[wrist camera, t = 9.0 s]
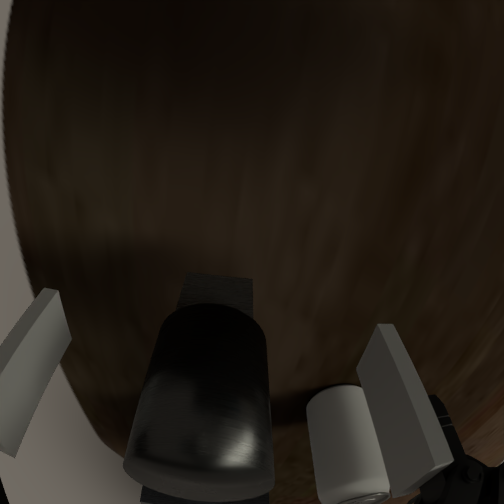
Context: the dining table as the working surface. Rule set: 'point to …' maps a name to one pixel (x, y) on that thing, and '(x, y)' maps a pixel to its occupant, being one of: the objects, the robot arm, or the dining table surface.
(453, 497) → the robot arm
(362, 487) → the can
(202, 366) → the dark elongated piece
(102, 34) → the dining table surface
